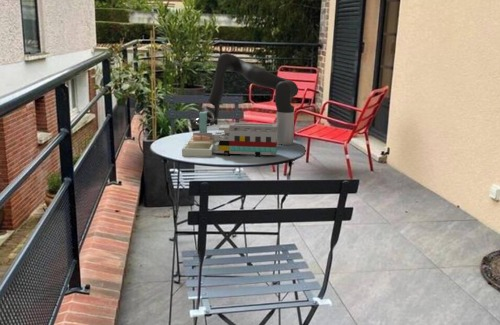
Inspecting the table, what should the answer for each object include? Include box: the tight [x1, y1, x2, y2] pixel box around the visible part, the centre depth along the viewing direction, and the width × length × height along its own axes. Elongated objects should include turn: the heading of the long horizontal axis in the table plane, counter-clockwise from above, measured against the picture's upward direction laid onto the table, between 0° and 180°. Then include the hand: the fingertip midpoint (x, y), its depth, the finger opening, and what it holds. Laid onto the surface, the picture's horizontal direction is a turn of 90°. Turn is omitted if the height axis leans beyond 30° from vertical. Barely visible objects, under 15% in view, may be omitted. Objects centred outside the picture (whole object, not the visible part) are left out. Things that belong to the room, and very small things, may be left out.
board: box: [187, 135, 217, 149], centre depth 256 cm, size 18×12×4 cm, turn 178°
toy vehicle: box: [213, 122, 278, 158], centre depth 239 cm, size 8×30×15 cm, turn 84°
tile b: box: [192, 135, 202, 141], centre depth 253 cm, size 4×4×2 cm
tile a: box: [202, 135, 210, 141], centre depth 253 cm, size 4×4×2 cm
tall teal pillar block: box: [192, 111, 213, 138], centre depth 258 cm, size 5×10×13 cm, turn 88°
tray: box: [181, 143, 214, 158], centre depth 241 cm, size 11×14×3 cm
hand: (202, 123), depth 256 cm, fingers open, 8 cm apart
